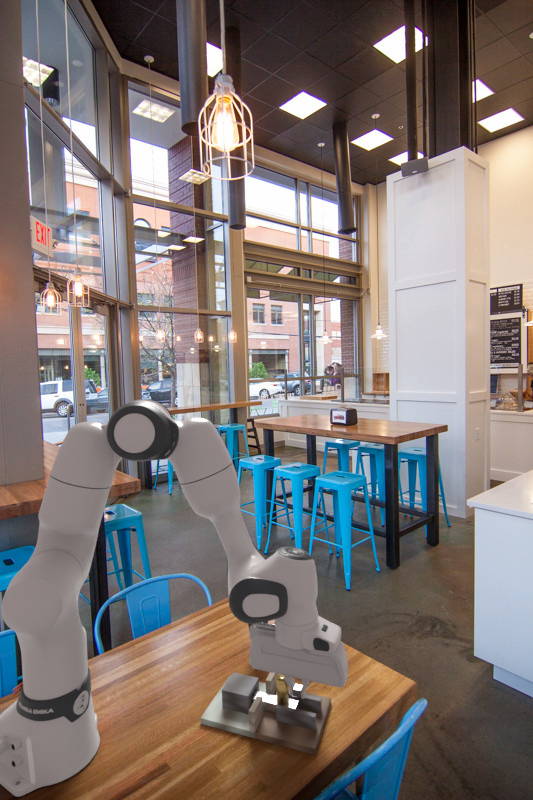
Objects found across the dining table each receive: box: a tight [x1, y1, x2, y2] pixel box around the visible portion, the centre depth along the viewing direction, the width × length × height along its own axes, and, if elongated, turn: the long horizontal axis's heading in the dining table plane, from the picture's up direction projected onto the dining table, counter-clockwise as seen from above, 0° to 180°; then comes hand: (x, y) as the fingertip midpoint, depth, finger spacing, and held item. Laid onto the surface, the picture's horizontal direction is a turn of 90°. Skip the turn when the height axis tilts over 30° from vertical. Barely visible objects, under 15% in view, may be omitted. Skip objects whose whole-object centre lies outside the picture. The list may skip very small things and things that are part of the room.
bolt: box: [250, 674, 299, 713], centre depth 91 cm, size 12×3×7 cm, turn 70°
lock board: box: [199, 672, 332, 756], centre depth 92 cm, size 24×14×5 cm, turn 70°
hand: (298, 695), depth 89 cm, fingers closed
